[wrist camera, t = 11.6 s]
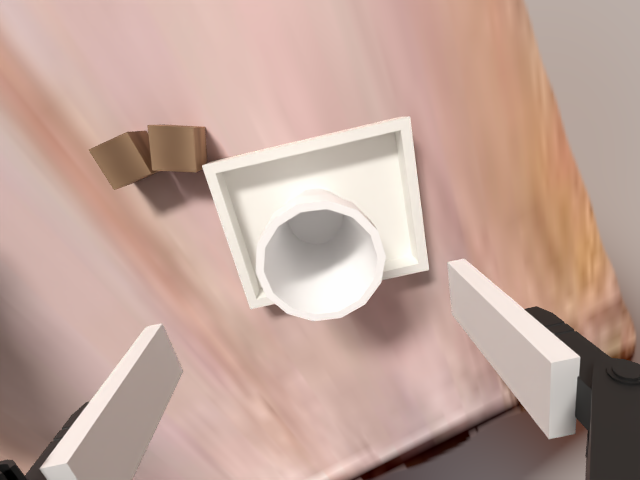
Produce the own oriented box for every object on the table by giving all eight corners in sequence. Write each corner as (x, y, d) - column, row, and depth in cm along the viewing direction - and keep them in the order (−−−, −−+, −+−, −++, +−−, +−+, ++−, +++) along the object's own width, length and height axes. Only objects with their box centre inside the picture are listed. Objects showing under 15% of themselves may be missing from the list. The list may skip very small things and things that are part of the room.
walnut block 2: (168, 165, 35) (152, 170, 31) (164, 124, 34) (147, 125, 30) (207, 166, 36) (195, 172, 32) (205, 126, 34) (193, 127, 30)
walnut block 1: (134, 182, 36) (113, 190, 32) (112, 146, 34) (88, 149, 31) (167, 167, 35) (151, 173, 32) (146, 130, 34) (126, 132, 30)
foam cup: (368, 241, 38) (399, 298, 26) (291, 267, 38) (284, 336, 26) (342, 159, 35) (362, 180, 22) (258, 190, 35) (234, 226, 23)
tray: (254, 293, 41) (250, 309, 37) (211, 161, 35) (201, 165, 32) (418, 257, 40) (429, 269, 37) (399, 116, 35) (409, 116, 31)
